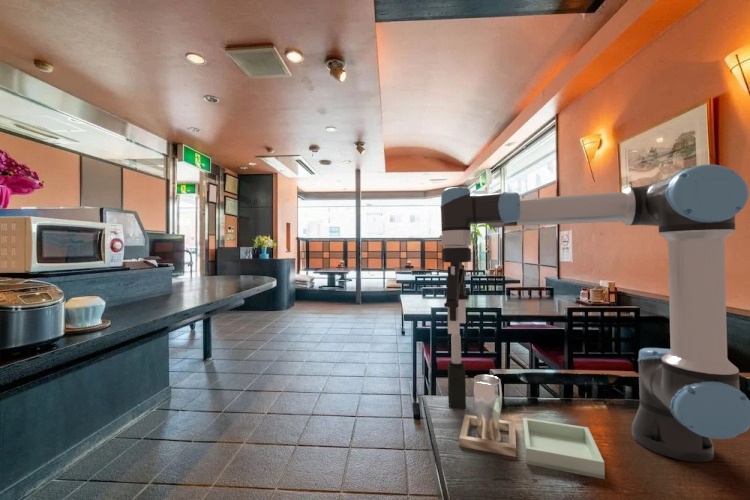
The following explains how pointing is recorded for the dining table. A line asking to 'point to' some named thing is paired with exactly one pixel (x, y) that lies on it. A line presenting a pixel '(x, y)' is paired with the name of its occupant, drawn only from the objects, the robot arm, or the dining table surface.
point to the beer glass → (487, 406)
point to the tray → (562, 448)
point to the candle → (456, 376)
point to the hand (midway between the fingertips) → (457, 328)
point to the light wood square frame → (488, 444)
